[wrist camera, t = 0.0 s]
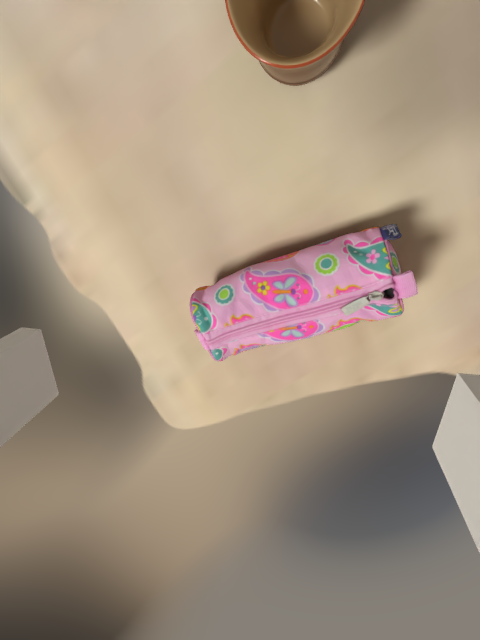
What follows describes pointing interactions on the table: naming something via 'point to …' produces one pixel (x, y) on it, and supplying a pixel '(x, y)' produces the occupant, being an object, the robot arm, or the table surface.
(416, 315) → the table surface
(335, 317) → the pencil case
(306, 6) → the mug
